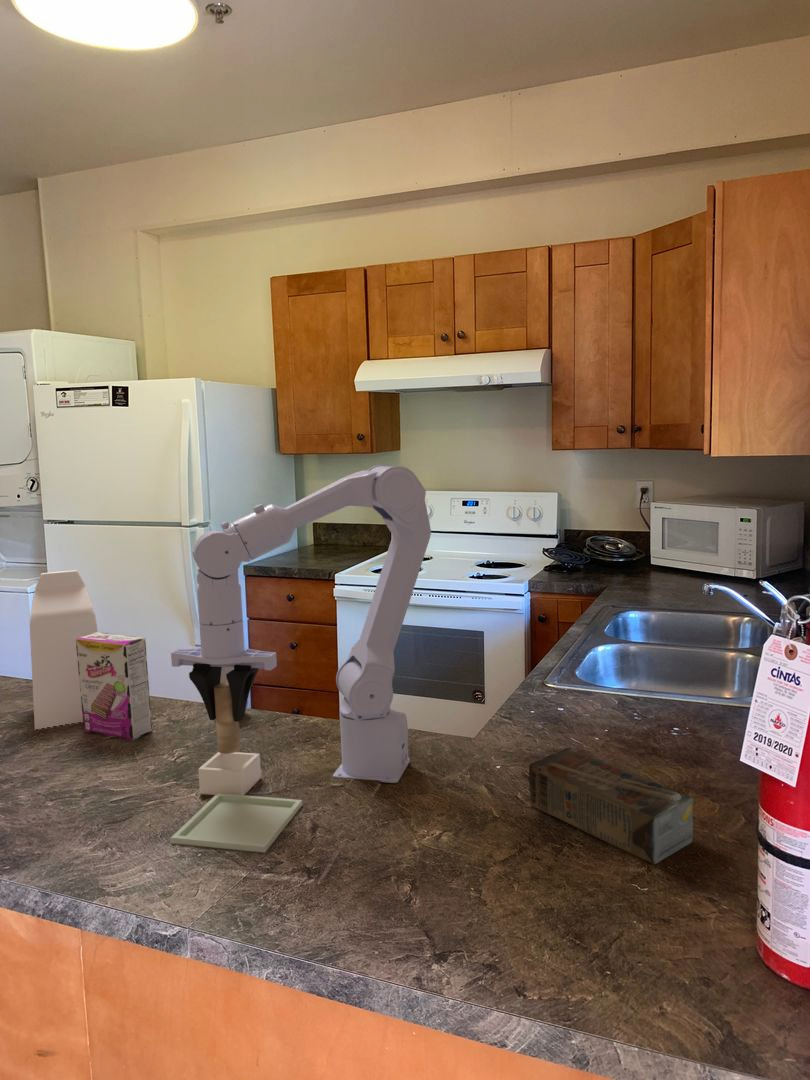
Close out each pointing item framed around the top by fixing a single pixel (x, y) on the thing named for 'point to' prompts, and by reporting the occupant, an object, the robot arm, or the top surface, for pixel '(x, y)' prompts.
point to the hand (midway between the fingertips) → (227, 718)
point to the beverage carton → (612, 804)
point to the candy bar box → (114, 685)
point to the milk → (58, 646)
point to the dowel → (225, 720)
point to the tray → (238, 822)
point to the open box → (229, 773)
